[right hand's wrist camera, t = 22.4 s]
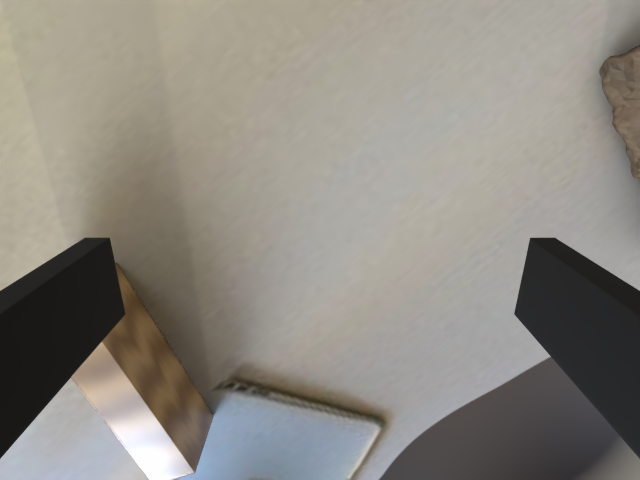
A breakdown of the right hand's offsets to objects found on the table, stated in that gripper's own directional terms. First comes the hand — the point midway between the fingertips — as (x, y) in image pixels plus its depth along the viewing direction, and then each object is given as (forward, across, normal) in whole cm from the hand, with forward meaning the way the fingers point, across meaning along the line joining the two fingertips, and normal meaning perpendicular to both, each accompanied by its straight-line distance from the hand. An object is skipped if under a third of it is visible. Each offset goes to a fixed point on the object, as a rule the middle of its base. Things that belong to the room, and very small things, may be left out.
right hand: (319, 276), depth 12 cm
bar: (+29, -21, -25) cm, 44 cm away
